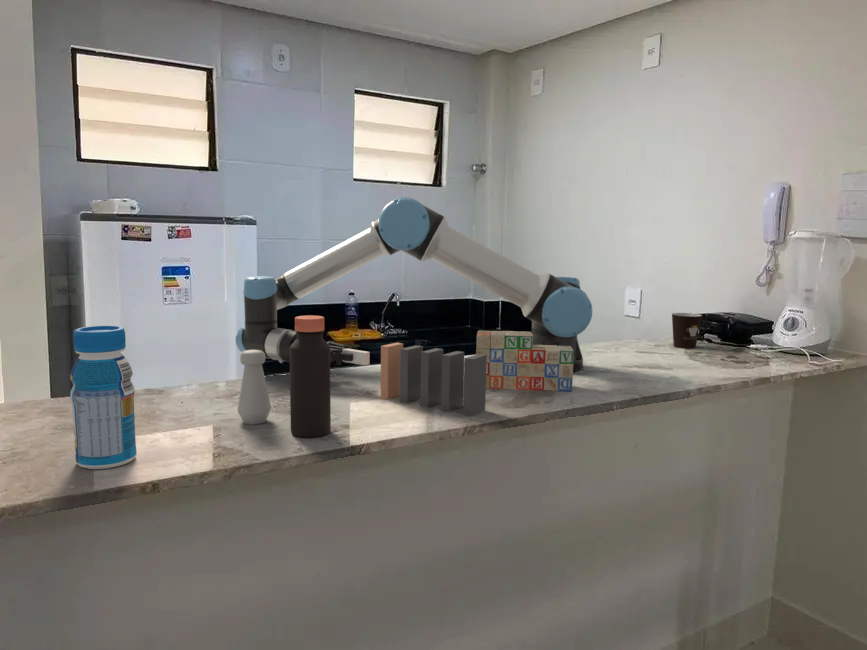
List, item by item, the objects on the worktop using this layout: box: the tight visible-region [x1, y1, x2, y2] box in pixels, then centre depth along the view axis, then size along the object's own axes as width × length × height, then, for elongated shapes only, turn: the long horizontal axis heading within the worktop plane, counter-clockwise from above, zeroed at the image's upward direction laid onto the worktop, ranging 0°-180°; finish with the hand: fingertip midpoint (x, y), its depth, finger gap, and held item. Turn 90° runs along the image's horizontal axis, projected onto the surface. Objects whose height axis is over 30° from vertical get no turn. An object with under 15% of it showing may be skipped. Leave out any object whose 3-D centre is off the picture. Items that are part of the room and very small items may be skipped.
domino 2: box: [420, 347, 444, 408], centre depth 133 cm, size 2×5×11 cm, turn 145°
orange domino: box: [380, 342, 404, 400], centre depth 139 cm, size 2×5×11 cm, turn 146°
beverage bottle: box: [69, 325, 138, 470], centre depth 98 cm, size 8×8×20 cm
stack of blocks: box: [475, 330, 574, 392], centre depth 150 cm, size 21×6×12 cm, turn 83°
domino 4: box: [462, 354, 487, 417], centre depth 128 cm, size 2×5×11 cm, turn 146°
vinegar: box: [289, 314, 332, 439], centre depth 113 cm, size 7×7×20 cm
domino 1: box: [399, 345, 424, 405], centre depth 136 cm, size 2×5×11 cm, turn 146°
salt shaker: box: [237, 350, 272, 426], centre depth 120 cm, size 6×6×13 cm
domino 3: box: [440, 350, 465, 413], centre depth 131 cm, size 2×5×11 cm, turn 146°
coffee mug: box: [671, 312, 710, 350], centre depth 204 cm, size 12×9×10 cm
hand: (367, 358), depth 142 cm, fingers closed
